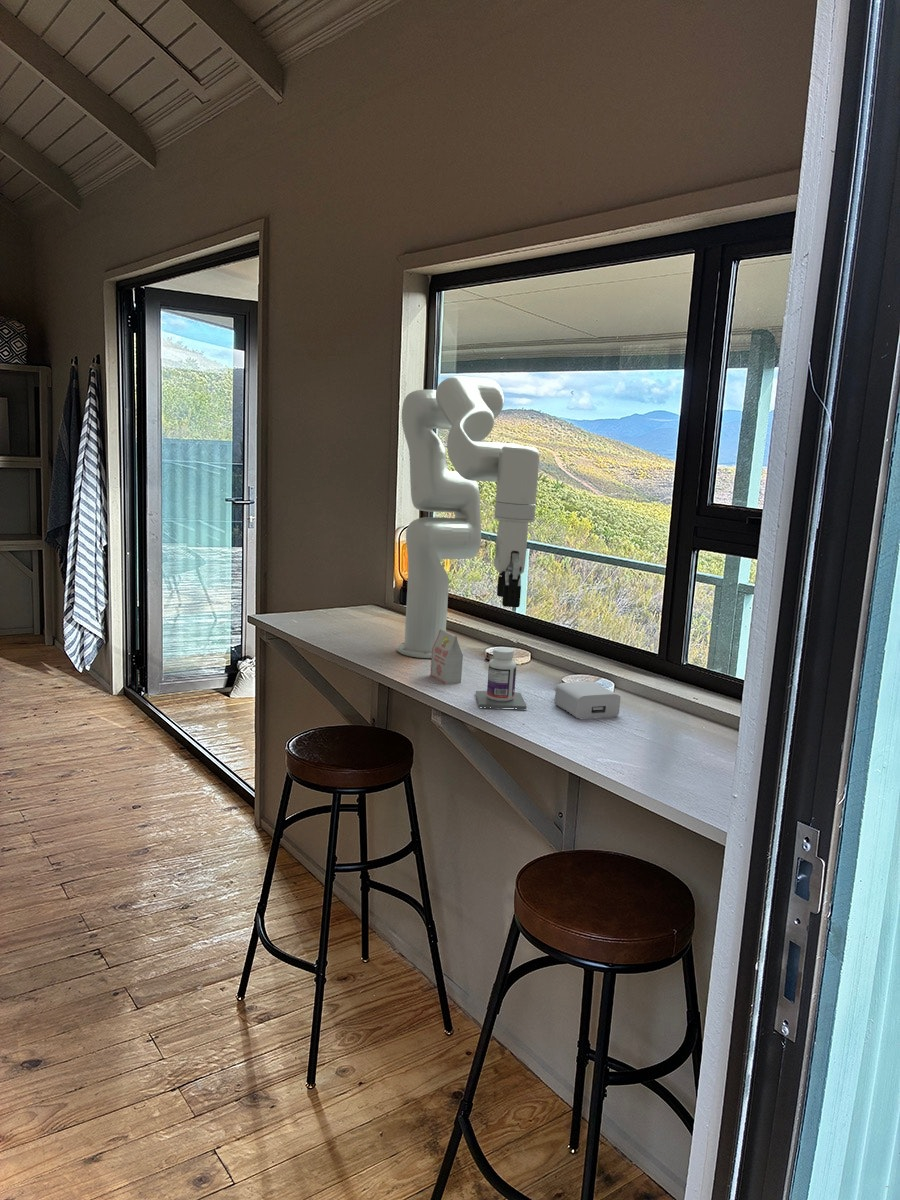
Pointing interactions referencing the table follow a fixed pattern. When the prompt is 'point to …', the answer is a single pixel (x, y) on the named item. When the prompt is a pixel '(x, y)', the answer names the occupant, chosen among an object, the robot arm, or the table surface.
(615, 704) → the charger
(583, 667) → the table surface
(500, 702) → the coaster
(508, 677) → the pill bottle
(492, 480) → the robot arm
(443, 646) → the milk carton
